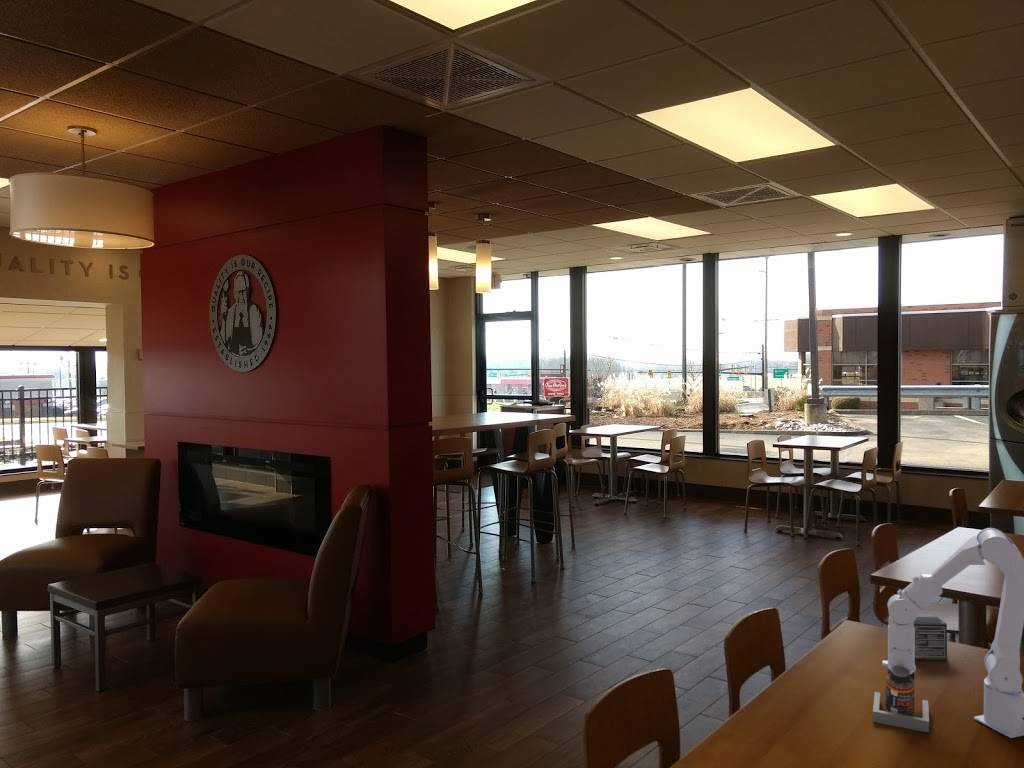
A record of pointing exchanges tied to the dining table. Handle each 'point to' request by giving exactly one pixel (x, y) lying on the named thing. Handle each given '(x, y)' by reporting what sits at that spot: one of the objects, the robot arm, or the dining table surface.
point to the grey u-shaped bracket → (901, 717)
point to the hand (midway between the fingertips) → (900, 702)
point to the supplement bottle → (900, 691)
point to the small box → (930, 639)
